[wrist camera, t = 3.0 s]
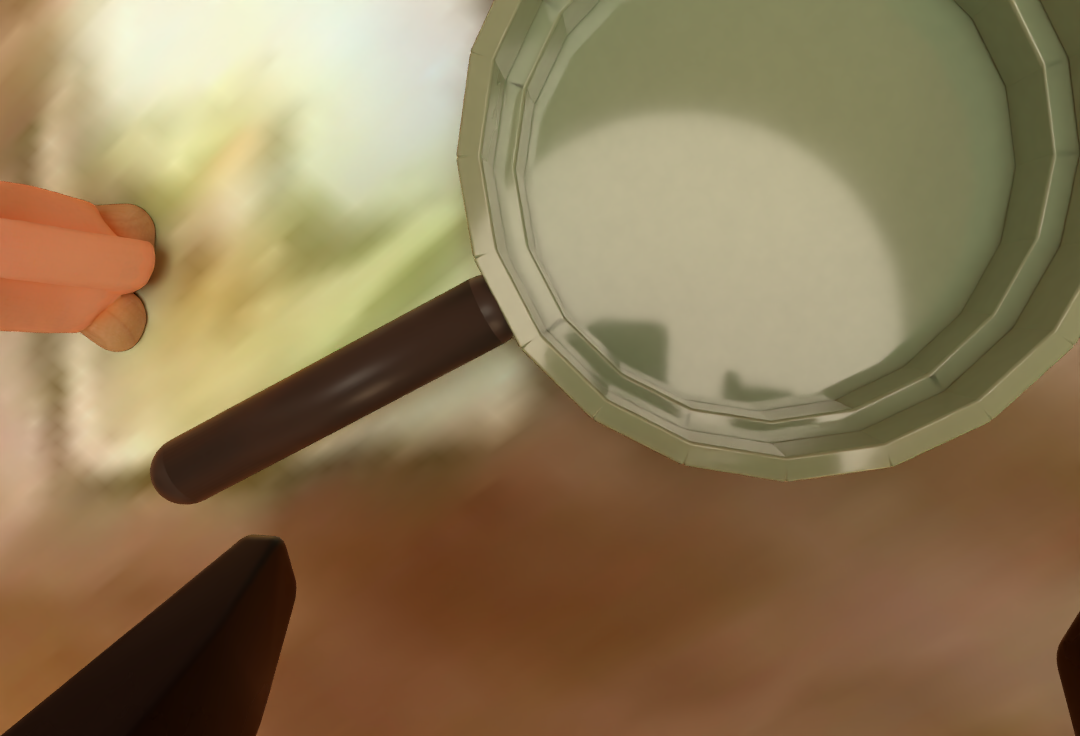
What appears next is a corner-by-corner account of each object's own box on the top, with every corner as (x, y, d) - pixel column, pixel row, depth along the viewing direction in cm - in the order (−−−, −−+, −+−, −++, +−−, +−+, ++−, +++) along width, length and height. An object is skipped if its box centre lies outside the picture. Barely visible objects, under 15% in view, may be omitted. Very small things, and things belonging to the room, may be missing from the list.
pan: (638, 533, 23) (643, 585, 19) (396, 68, 22) (346, 15, 18) (1145, 291, 21) (1276, 289, 17) (892, -223, 21) (962, -355, 16)
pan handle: (195, 505, 22) (156, 524, 20) (163, 448, 22) (122, 461, 20) (540, 325, 20) (531, 327, 18) (507, 263, 20) (497, 259, 18)
